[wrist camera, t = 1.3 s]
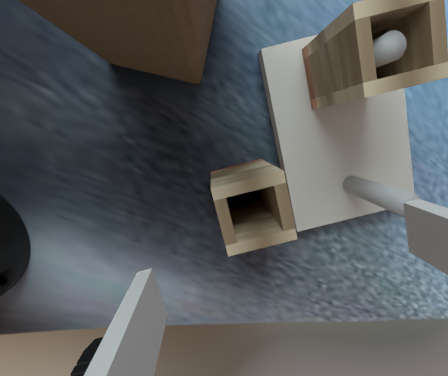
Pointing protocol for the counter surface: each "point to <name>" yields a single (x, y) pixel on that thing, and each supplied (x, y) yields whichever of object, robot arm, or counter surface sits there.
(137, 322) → the robot arm
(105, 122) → the counter surface
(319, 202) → the pin board
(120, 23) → the wooden block
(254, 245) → the sleeve
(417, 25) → the sleeve seated
